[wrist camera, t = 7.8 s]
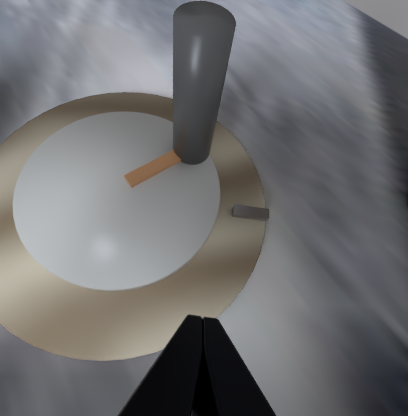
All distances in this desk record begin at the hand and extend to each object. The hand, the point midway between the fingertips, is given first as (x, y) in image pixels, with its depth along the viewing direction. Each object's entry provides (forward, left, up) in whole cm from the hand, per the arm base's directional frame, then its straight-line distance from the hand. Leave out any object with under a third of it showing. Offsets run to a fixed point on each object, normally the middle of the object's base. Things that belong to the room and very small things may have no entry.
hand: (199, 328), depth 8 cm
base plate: (+9, +1, -8) cm, 12 cm away
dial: (+9, +1, -7) cm, 11 cm away
